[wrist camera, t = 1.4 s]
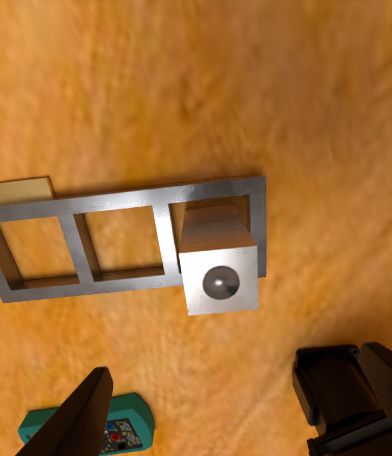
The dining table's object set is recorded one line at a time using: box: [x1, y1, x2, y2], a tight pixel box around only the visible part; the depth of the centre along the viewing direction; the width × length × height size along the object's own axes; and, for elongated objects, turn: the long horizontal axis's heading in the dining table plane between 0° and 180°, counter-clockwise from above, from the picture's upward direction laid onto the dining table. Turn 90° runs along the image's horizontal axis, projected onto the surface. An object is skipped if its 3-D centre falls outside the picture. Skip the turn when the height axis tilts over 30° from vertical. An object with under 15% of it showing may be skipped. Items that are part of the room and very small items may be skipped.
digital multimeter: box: [18, 393, 154, 456], centre depth 28 cm, size 7×15×3 cm, turn 103°
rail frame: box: [0, 174, 266, 303], centre depth 19 cm, size 23×10×2 cm, turn 96°
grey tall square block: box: [179, 205, 258, 316], centre depth 16 cm, size 4×4×8 cm
